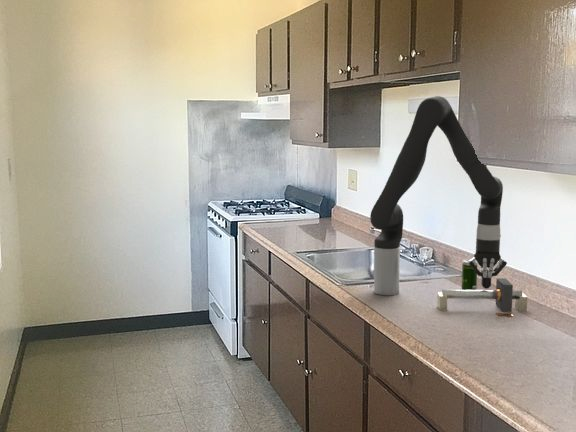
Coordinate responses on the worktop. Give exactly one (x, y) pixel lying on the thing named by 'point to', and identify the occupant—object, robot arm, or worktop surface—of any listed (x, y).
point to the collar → (504, 294)
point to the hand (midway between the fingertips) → (485, 287)
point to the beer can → (468, 276)
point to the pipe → (481, 294)
